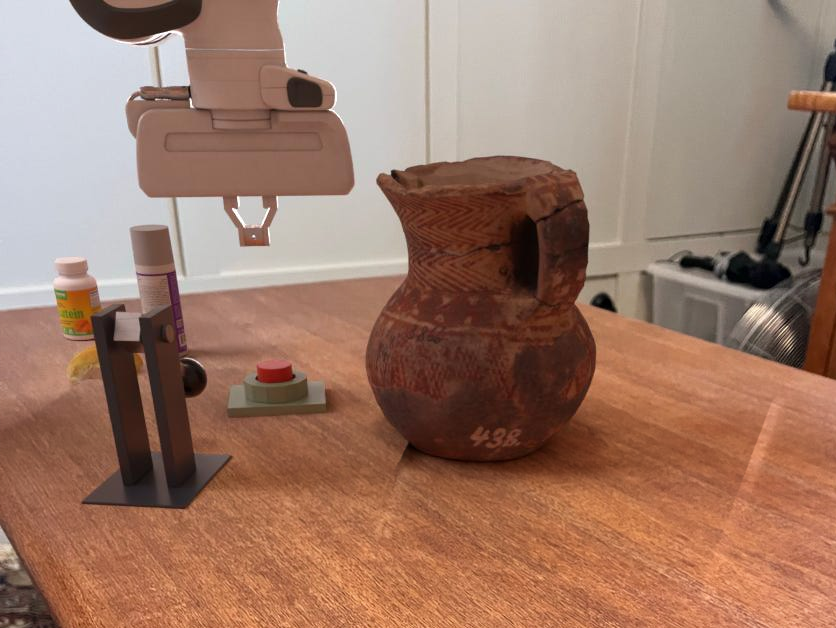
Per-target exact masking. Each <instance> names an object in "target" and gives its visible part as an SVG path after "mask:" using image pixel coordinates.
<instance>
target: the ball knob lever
mask: <svg viewBox="0 0 836 628" xmlns="http://www.w3.org/2000/svg"><path fill="white" fill-rule="evenodd" d="M142 315H144V314H143V311H126V312H116V319H115V330H114V341H115V342H116V343H117V344H119V345H120V346H121V347H122V348H124V349H125V350H126V351H127V352H128V353H137V354H145V353H144V347H143V341H142V336H141V330H140V324H139V317H140V316H142ZM179 359H180V366H181V372H182V379H183V385H184V392H185V398H186V399H193V398H196V397H198V396H200V395H201V394H202V393H203V392H204V391H205V390H206V387H207V385H208V374H207V371H206V369H205V367H204V366H203V365H202V364H201V363H200V362H199V361H197V360H195V359H194V358H190V357H180V358H179Z"/></svg>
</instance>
